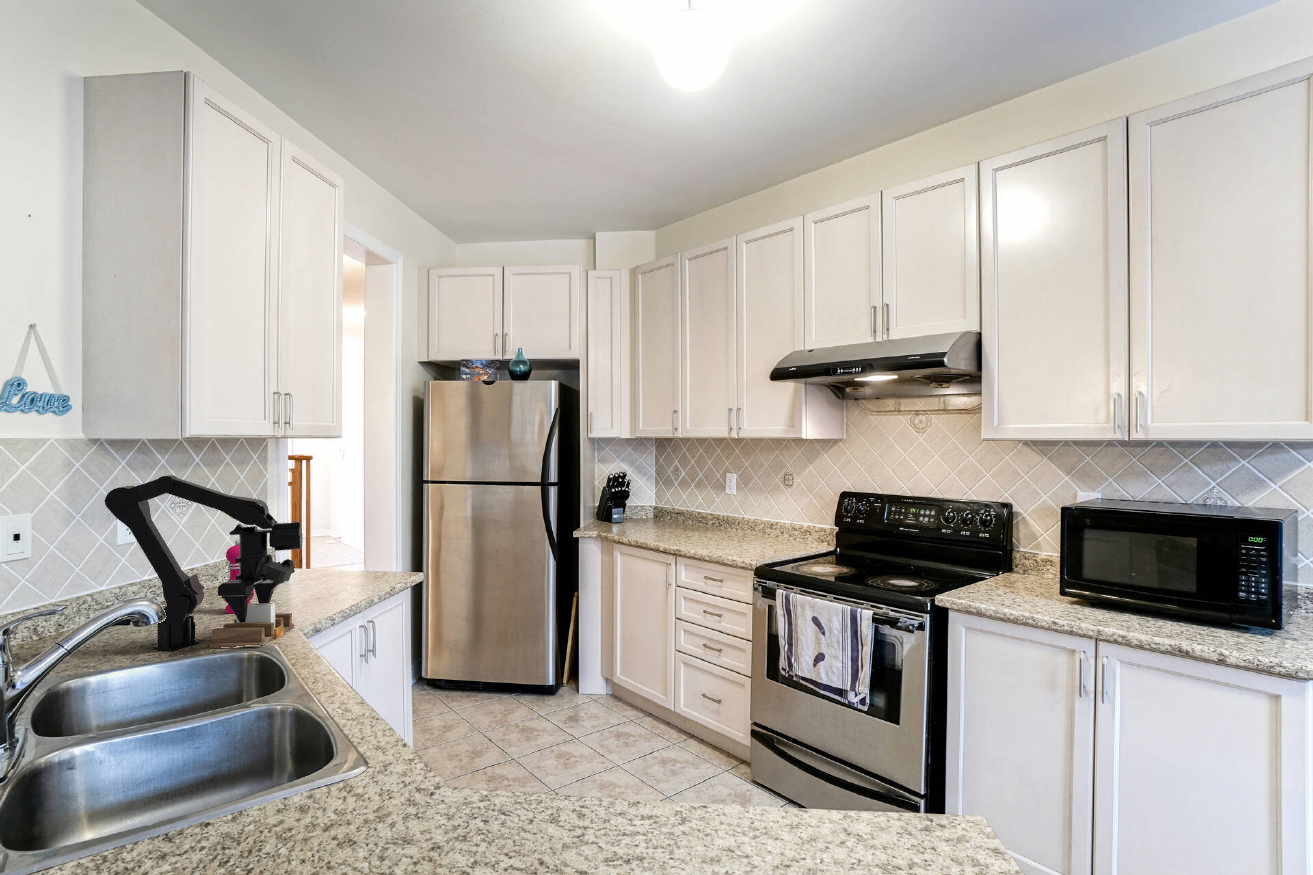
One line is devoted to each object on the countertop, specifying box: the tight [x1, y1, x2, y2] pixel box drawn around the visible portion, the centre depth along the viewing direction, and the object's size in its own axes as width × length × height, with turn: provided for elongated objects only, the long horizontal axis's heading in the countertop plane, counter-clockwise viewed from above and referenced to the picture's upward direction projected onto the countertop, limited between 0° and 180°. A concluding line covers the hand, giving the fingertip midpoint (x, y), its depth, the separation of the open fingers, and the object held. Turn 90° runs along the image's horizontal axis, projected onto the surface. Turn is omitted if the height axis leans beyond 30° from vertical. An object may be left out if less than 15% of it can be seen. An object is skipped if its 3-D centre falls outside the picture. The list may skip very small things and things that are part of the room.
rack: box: [209, 612, 295, 650], centre depth 158 cm, size 16×12×4 cm
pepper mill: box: [223, 538, 255, 615], centre depth 183 cm, size 7×7×20 cm
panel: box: [235, 602, 276, 629], centre depth 158 cm, size 2×8×7 cm, turn 93°
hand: (253, 616), depth 158 cm, fingers open, 9 cm apart
